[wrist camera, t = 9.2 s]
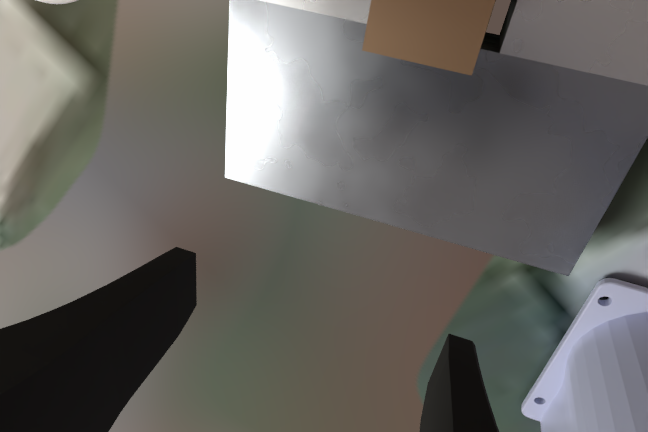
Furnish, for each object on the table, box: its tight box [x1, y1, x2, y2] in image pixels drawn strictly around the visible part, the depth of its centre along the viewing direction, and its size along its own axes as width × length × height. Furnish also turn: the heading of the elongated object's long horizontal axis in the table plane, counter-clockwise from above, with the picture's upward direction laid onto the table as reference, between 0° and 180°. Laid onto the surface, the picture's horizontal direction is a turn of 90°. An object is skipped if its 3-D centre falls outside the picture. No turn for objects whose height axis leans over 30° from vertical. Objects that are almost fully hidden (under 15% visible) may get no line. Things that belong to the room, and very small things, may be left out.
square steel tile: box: [225, 0, 648, 276], centre depth 16 cm, size 16×14×2 cm
